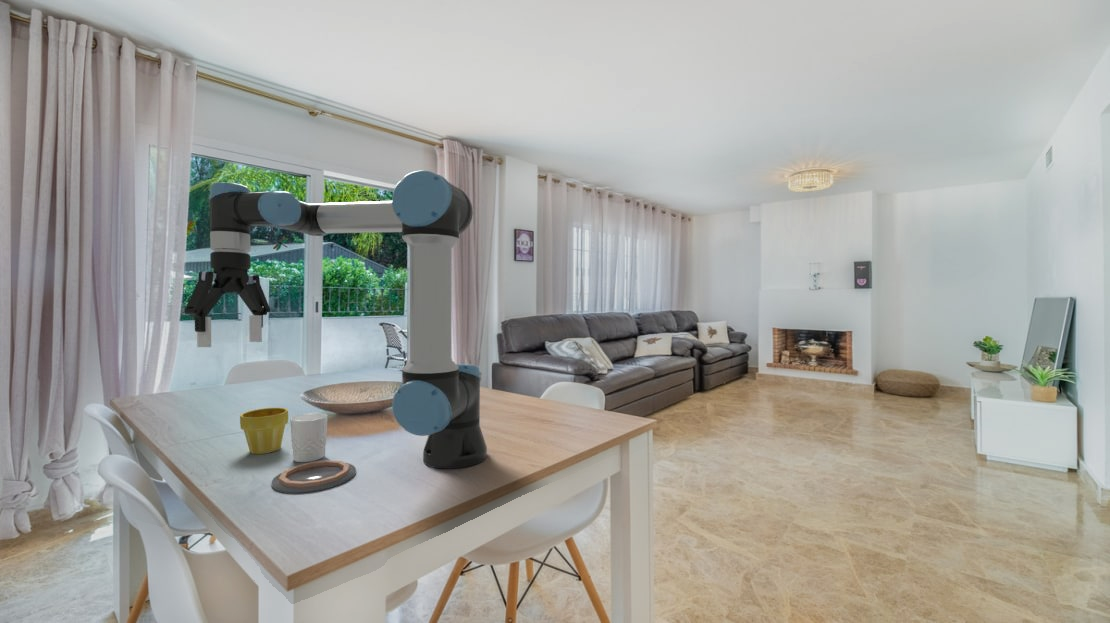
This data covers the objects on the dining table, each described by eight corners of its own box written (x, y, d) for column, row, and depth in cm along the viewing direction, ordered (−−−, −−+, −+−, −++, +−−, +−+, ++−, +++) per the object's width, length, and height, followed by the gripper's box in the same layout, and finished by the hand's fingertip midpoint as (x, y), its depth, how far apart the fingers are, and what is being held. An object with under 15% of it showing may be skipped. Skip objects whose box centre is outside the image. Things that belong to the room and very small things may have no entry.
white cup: (311, 464, 105) (311, 421, 105) (282, 462, 107) (282, 420, 107) (334, 453, 113) (334, 413, 113) (307, 451, 115) (307, 412, 114)
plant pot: (235, 459, 109) (235, 418, 108) (245, 446, 118) (245, 409, 118) (285, 453, 113) (285, 414, 113) (291, 441, 122) (290, 405, 122)
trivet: (370, 466, 104) (370, 460, 104) (324, 496, 88) (324, 488, 88) (308, 462, 107) (308, 456, 107) (252, 490, 91) (252, 483, 91)
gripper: (260, 257, 117) (260, 339, 117) (161, 245, 92) (163, 349, 93) (285, 257, 116) (286, 340, 116) (193, 245, 91) (194, 350, 92)
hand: (231, 344), depth 105 cm, fingers open, 13 cm apart
